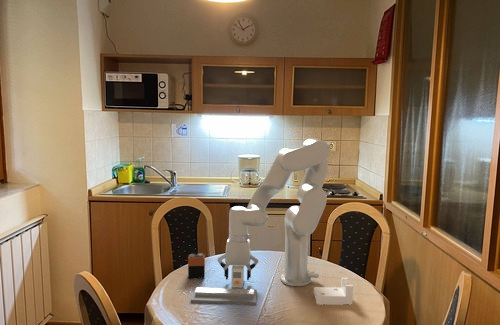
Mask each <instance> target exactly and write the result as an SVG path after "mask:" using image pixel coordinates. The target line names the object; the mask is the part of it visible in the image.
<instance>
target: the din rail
mask: <svg viewBox="0 0 500 325" xmlns="http://www.w3.org/2000/svg"><path fill="white" fill-rule="evenodd" d="M195 288H196V287H195ZM223 288H224V287H223ZM223 288H221V287H219V288H218V287H201V288H196V291H195V296H219V297H245V298H254V290H255V289H254V290H249V289H250V288H248V289H247V288H246V289H245V288H228V289H223Z"/></svg>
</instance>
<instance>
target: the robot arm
mask: <svg viewBox="0 0 500 325" xmlns="http://www.w3.org/2000/svg"><path fill="white" fill-rule="evenodd" d="M330 155H331V147H330V145H329V143H328V142H326V141H324V140H322V139H318V138H308V139H306V140H304V141H303V143H302V145H301V147H298V148H295V149H292V148H282V149H281V150H279V152H278V154H277V155H276V157H275V159H274V160H273V162H272V165H271V166H270V169H269V170H268V172H267V173H266V176H265V178H264V179H263V181H262V182H261V183H260V185H259V186H258V188H256V190H255V191H254V193H253V194H252V197H251V198H250V200H249V202H248V205H247V207H246V206H245V207H244V206H240V205H238V206H237V205H236V206H233V207H231V208H229V212H228V216H229V217H228V219H229V220H228V221H229V222H228V239H227V240H226V245H225V253H224V254H222V255H220V256H219V257H218V258H217V260H216V261H217V263H219V265H220V267H222V269H223V270H224V272H223V274H224V277H225V280H226V281H227V280H228V279H229V267H230V266H233V265H239V266H244V267H246V269H247V270H246V280H247V281H250V280H249V279H250V278H251V276H252V275H251V272H252V270H253V269H254V268H255V267H256V266H257V264H258V263H259V259H258V258H256V257H255V256H254V255H252V254H251V253H252V252H251V243H250V242H251V241H250V239H252V234H249V232H248V231H249V228H248V227H253V228H262V227H264V226H266V225H267V223H268V221H269V215H268V213H267V211H266V208H267V206H268V204H269V202H270V201H271V200H272V198H273V197H274V196H276V195H277V194H279V193H281V192H282V191H283V190H284V188H285V186H286V185H287V182H289V179H290V178H291V175H292V173H297V172H300V171H303V170H305V172H304V176H303V177H302V179H301V182H300V184H299V186H298V189H297V191H296V198H297V201H299V203H300V204H299V205H292V206H290V207H289V208H288V209H287V210H286V212H285V214H284V229H285V231H284V232H285V239H284V240H285V241H284V242H285V244H284V246H285V247H284V270H283V271H284V272H283V273H282V274H281V275H280V282H282V283H283V284H285V285H287V286H292V287H304V286H308V285H309V284H310V283H311V282H312V281H311V279H312V278H313V279H319V273H318V272H316V271H314V270H313V271H310V270H309V268H308V260H309V258H308V257H309V236H310V235H311V234H313V233H314V231H315V230H316V228H317V227H318V224H319V223H320V219H321V217H322V215H323V213H324V211H325V208H326V205H327V200H328V199H327V193H326V192H325V190H324V189H323V187H324V184H325V180H326V178H327V174H328V170H329V163H328V158H329V157H330ZM224 259H225V260H224ZM223 260H224V261H225V262H224V261H223ZM251 261H253V263H252V264H251Z"/></svg>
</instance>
